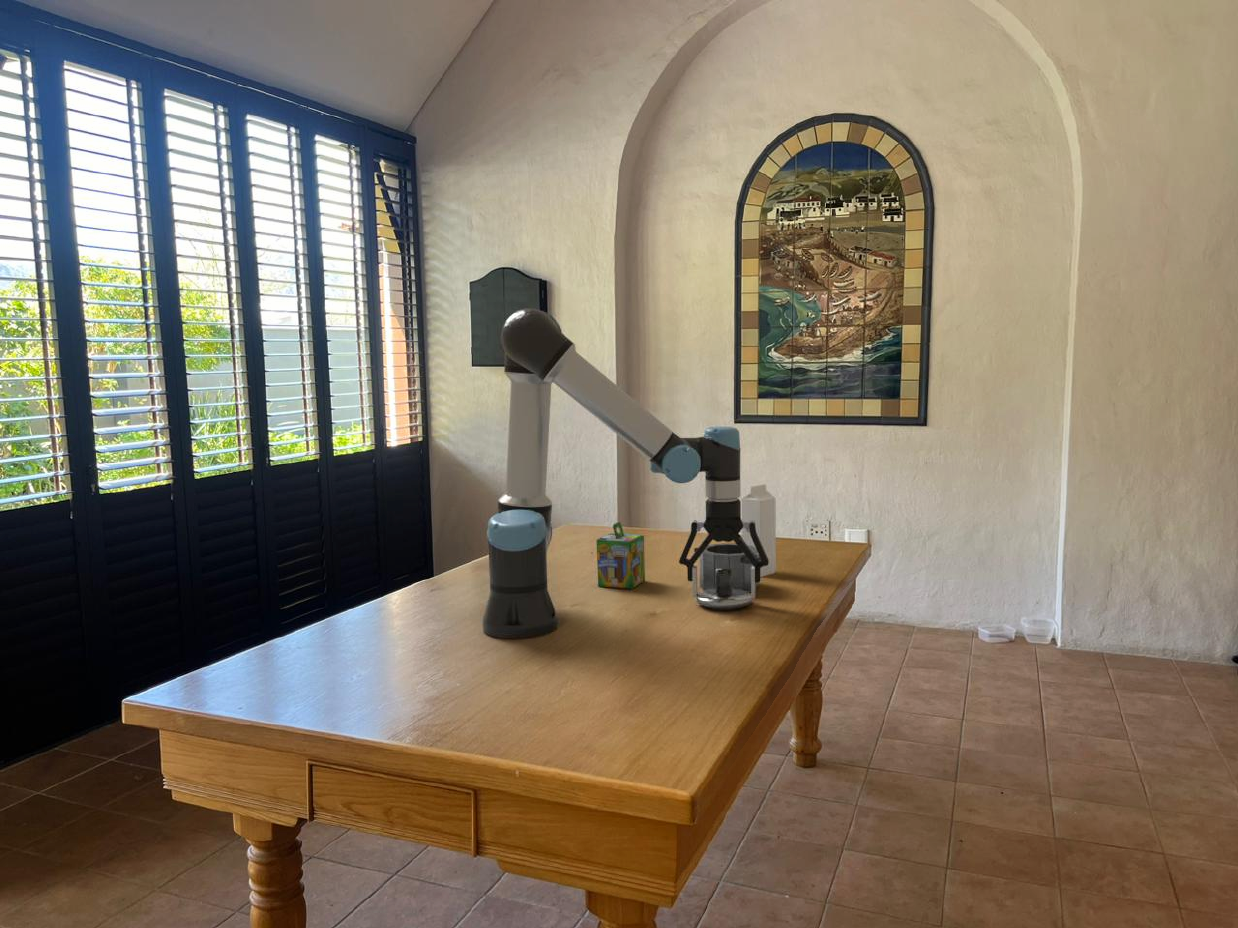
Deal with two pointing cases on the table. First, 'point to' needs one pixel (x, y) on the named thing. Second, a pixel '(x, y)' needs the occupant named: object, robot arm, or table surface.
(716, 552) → the pot
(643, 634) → the table surface
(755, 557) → the robot arm
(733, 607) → the lid
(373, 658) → the table surface
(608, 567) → the chalk box
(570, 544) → the table surface
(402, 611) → the table surface
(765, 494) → the milk
